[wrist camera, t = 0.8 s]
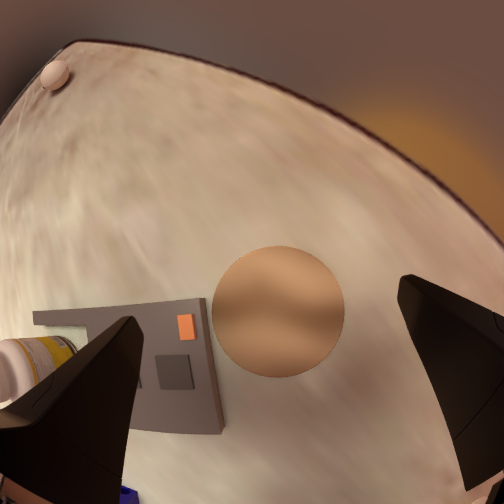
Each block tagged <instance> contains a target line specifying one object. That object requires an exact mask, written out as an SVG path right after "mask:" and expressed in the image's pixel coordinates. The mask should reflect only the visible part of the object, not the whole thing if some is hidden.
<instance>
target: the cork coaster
mask: <svg viewBox="0 0 504 504" xmlns="http://www.w3.org/2000/svg"><path fill="white" fill-rule="evenodd" d="M343 321H344V301H343V296H342V292H341V289H340V287H339V284H338V282H337V280H336V278H335V277H334V275H333V274H332V273H331V271H330V270H329V269H328V268H327V267H326V266H325V265H324V264H323V263H322V262H321V261H320V260H319V259H317V258H316V257H314V256H312V255H311V254H309V253H307V252H305V251H302V250H299V249H296V248H291V247H283V246H274V247H266V248H262V249H258V250H256V251H253V252H251V253H249V254H247V255H245V256H243V257H242V258H240V259H239V260H237V261H236V262H235V263H234V264H233V265H232V266H231V267H230V268H229V269H228V270H227V271H226V272H225V274H224V275H223V277H222V278H221V280H220V282H219V284H218V286H217V288H216V291H215V294H214V298H213V303H212V322H213V327H214V331H215V334H216V337H217V339H218V341H219V343H220V345H221V347H222V348H223V350H224V351H225V352H226V354H227V355H228V356H229V357H230V358H231V359H232V360H233V361H234V362H236V363H237V364H238V365H239V366H241V367H243V368H244V369H246V370H248V371H250V372H252V373H255V374H258V375H261V376H267V377H288V376H293V375H297V374H300V373H303V372H305V371H307V370H309V369H311V368H313V367H314V366H316V365H317V364H318V363H320V362H321V361H322V360H323V359H324V358H325V357H326V356H327V355H328V354H329V353H330V351H331V350H332V349H333V347H334V346H335V344H336V342H337V340H338V338H339V336H340V333H341V330H342V326H343Z"/></svg>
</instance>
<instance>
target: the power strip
mask: <svg viewBox="0 0 504 504" xmlns="http://www.w3.org/2000/svg"><path fill="white" fill-rule="evenodd" d="M123 316H134V317H135V318H136V320H137V322H138V324H139V326H140V328H141V330H142V332H143V334H144V344H143V352H142V360H141V368H140V376H139V381H138V386H137V390H136V395H135V400H134V405H133V410H132V416H131V421H130V427H129V428H130V429H137V430H145V431H154V432H165V433H179V434H221V433H222V431H223V429H224V427H225V424H224V419H223V414H222V409H221V403H220V397H219V392H218V386H217V380H216V374H215V368H214V361H213V355H212V348H211V341H210V334H209V327H208V319H207V312H206V304H205V298H195V299H186V300H176V301H167V302H157V303H146V304H135V305H124V306H112V307H98V308H84V309H68V310H48V311H33V322H34V325H86V330H87V338H88V343H89V342H90V341H92V340H93V339H94V338H96V337H97V336H98V335H99V334H101V333H102V332H103V331H104V330H106V329H107V328H108V327H110V326H111V325H112V324H113V323H115V322H116V321H117V320H119V319H120V318H121V317H123Z"/></svg>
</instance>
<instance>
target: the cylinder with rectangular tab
mask: <svg viewBox="0 0 504 504" xmlns="http://www.w3.org/2000/svg"><path fill="white" fill-rule="evenodd" d="M487 498H488V497H487V496H484V497H481V498H479V499H477V500H475V501H474V502H472V503H471V504H485V503H486V500H487Z"/></svg>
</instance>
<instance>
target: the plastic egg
mask: <svg viewBox="0 0 504 504" xmlns="http://www.w3.org/2000/svg"><path fill="white" fill-rule="evenodd" d="M68 77H69V67H68V65H67V64H66V63H65V62H63V61H60V60H58V61H53V62H51V63H49V64H48V65H47V66H46V67H45V68H44V69H43V71H42V73H41V78H40V80H41V84H42V86H43V88H45V89H47V90H56V89H59V88H60V87H61V86H63V85H64V84H65V82H66V81H67V79H68Z"/></svg>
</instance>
